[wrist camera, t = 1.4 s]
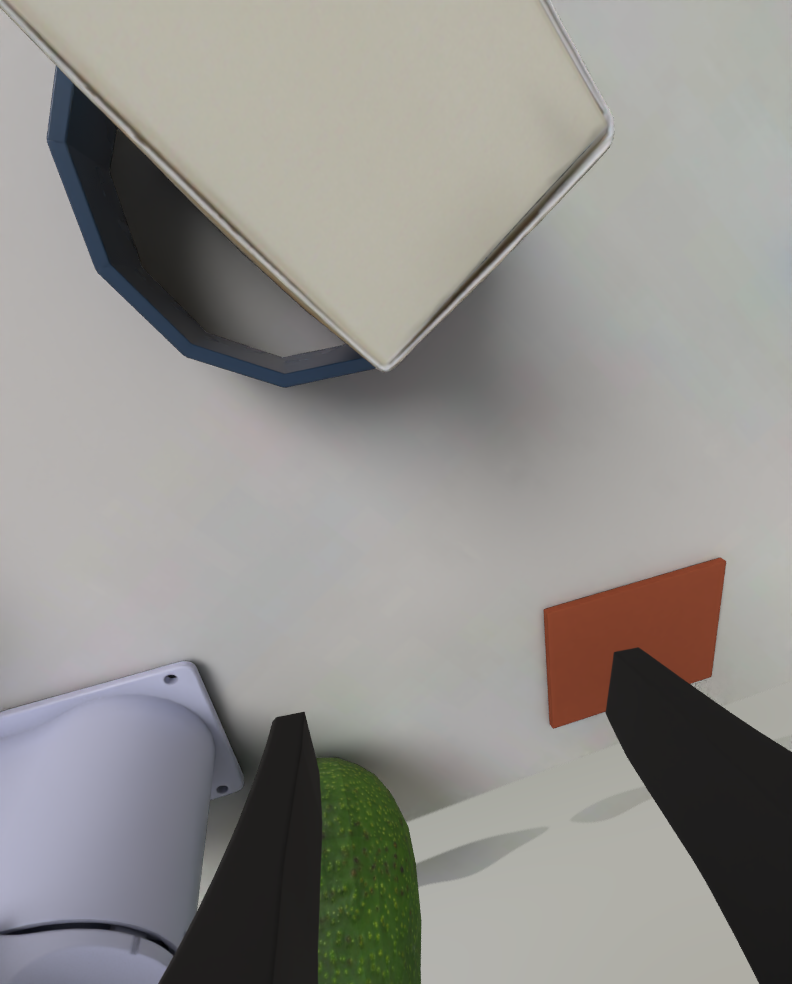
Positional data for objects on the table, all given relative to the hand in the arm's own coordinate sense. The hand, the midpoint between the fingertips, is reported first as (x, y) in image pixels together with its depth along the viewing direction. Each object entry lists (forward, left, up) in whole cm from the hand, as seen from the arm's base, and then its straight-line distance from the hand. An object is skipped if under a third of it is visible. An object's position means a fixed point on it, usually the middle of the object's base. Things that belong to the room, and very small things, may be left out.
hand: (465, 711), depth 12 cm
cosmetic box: (-1, +12, -11) cm, 16 cm away
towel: (+12, -11, -11) cm, 19 cm away
